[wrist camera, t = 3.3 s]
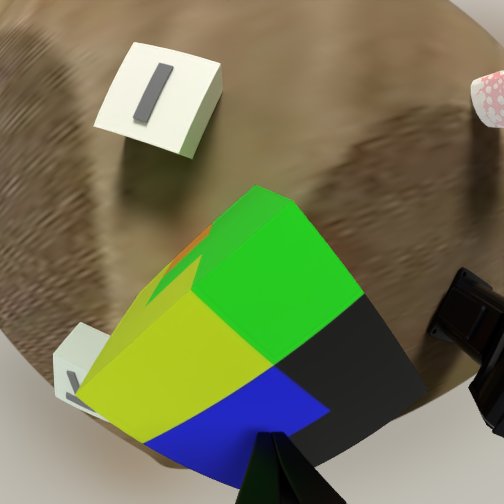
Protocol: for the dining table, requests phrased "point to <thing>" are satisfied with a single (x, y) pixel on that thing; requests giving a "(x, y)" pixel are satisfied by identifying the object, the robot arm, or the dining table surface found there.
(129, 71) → the digit block one
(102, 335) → the digit block seven
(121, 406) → the puzzle toy
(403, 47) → the dining table surface
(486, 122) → the beverage cup
